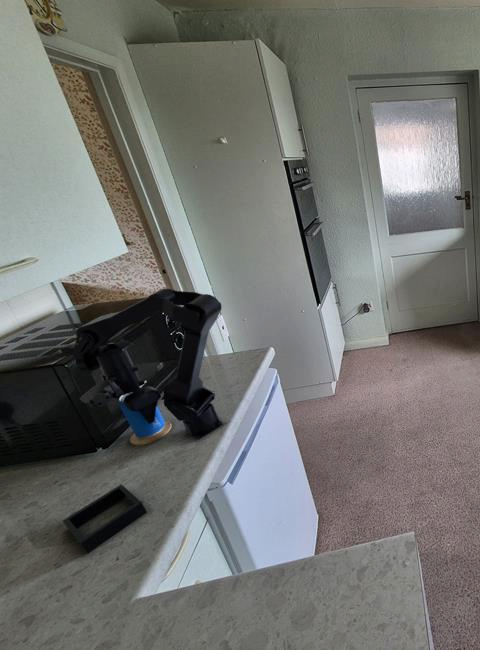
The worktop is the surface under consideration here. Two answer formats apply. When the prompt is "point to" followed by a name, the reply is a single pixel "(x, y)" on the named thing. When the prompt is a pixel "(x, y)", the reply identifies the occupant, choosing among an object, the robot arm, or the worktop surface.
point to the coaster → (143, 441)
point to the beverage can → (142, 421)
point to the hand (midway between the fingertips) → (143, 417)
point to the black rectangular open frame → (111, 526)
